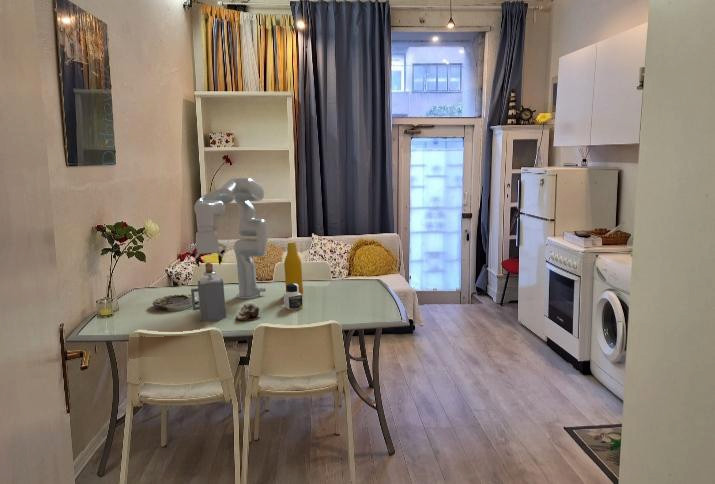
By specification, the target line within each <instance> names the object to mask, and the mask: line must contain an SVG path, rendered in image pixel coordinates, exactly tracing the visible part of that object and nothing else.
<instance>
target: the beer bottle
mask: <svg viewBox="0 0 715 484" xmlns="http://www.w3.org/2000/svg"><path fill="white" fill-rule="evenodd" d="M286 247H287V248H286V249H287V250H286V251H287V252H286V256H285V259H284V262H283V263H284V265H283V266H284V277H285V278H284V279H285V283H284V284H285V287H286V286H287V285H288V284H292V283H295V284H298V285H299V293H300V294H302V295H303V294H304V287H303V285H304V284H303V267H302V260H301V257H300V255H299V253H298V249H297V242H296V241H288V242H287V246H286ZM285 293H287V290H286V289H285Z"/></svg>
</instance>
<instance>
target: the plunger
mask: <svg viewBox="0 0 715 484" xmlns="http://www.w3.org/2000/svg"><path fill="white" fill-rule="evenodd" d="M204 264H205V271H204V272H203V276H207V277H209V280H211V277H212V276H214V275H216V273H217V272H216V271H215V270H213V262H205V263H204ZM209 284H211V283H209Z"/></svg>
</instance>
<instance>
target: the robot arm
mask: <svg viewBox="0 0 715 484" xmlns="http://www.w3.org/2000/svg"><path fill="white" fill-rule="evenodd" d="M264 196H265V190H264V188H263V187H262V185H260V184H259V183H258V182H257V181H255V180H254V179H252V178H250V177H233V178H230V179H229V180H227V181H226V183H224V184H223V185H222V186H221V187H220V188H218V189H216V190H213V191H211V192H208V193H205V194H204V195H202V196H200V197H199V198H198V199H197V200H196V202H195V203H194V209H193V210H194V213H195V217H196V227H197V232H196V233H195V244H194V245H193V246H191V247H189V249H187V250H188V252H189V253H190V255H191V256H192V257H193V258H194V259H195V265H196V266H197V267H200V258H199V256H200V255H205V254H206V255H207V254H218V255H217V257H218V258H217V259H218V265H221V264H222V263H223V258H222V256H223V254H224V253H225V252H226V251H227V245H226V244H223V243H220V242H219V238H218V233H217V231H216V229H217V230H218V225H215V223H214V222H215V221H214V217H220V216H222V215H223V214H225V211H226V205H229V204H231V203H232V202H233V201H235V203H236V204H237V207H238V211H239V213H238V228H237V231H238V234H239V235H240V236H241V237H242V236H243V237H256V238H239V239H237V240H236V241H235V242H234V244H233V250H234V254H235V259H236V268H237V281H238V291H239V293H237V294H236V298H237V299H238V300H239V299H241V300H249V299H255V298H259V297H260V296H261V293H262V292H263V293H264V292H266V288H265V287H259V288H258V286H257V273H256V272H257V270H256V263H255V260H254V259H253V257H254V258H255V257H256V258H257V257H260V258H261V257H264V256H265V255H266V253H267V249H268V237H269V227H268V226H269V225H268V222H267V221H266V219H263V218H256V209H255V206H254V205H253V204H252V202H260V201H263V200H264ZM220 247H221V248H222V249H221V250H220ZM195 249H196V253H195V252H193V251H194V250H195Z"/></svg>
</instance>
